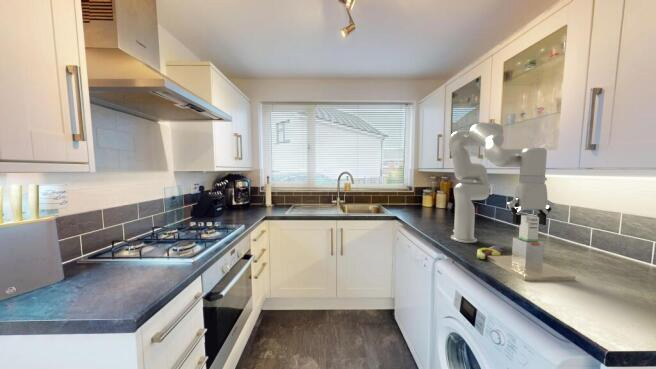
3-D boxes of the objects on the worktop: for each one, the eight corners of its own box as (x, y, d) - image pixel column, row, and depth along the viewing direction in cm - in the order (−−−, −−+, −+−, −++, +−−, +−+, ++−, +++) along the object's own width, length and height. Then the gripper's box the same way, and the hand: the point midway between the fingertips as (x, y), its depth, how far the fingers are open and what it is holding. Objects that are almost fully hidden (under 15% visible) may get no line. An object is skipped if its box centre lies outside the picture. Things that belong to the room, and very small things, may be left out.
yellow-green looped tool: (497, 245, 120) (469, 256, 107) (498, 240, 119) (470, 250, 107) (516, 251, 113) (488, 263, 100) (517, 245, 113) (489, 257, 100)
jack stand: (486, 259, 104) (487, 233, 103) (527, 259, 104) (529, 233, 104) (524, 280, 84) (526, 248, 83) (575, 280, 84) (577, 248, 84)
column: (517, 251, 96) (520, 215, 95) (527, 251, 96) (530, 215, 95) (526, 255, 92) (529, 217, 91) (537, 255, 92) (539, 217, 91)
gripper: (545, 179, 96) (542, 222, 97) (502, 179, 96) (499, 222, 97) (563, 181, 88) (560, 226, 89) (517, 180, 88) (514, 226, 89)
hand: (529, 224), depth 93 cm, fingers open, 9 cm apart
